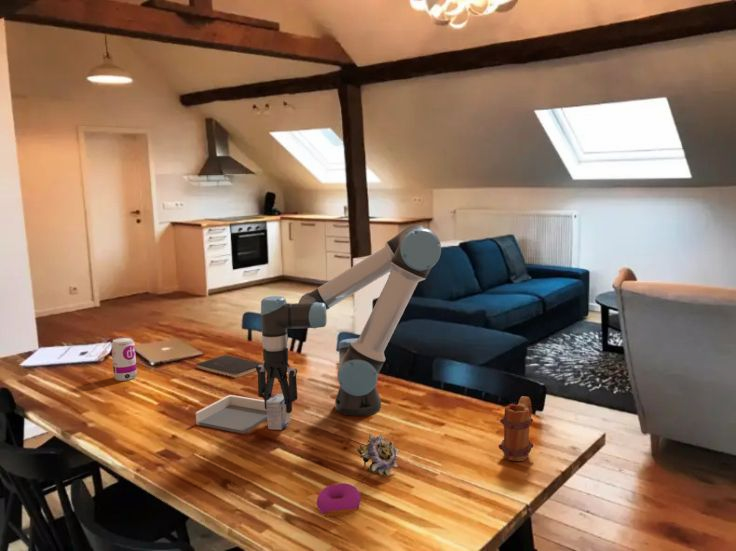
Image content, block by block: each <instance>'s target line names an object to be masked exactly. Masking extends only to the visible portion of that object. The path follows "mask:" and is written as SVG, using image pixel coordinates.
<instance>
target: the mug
mask: <svg viewBox="0 0 736 551" xmlns="http://www.w3.org/2000/svg"><path fill="white" fill-rule="evenodd" d="M532 411H533V410H532V402H531V399H530V397H529V396H525V395H524V396H523V395H521V397H520V398H519V400H518V404H514V403H510V404H508V405H506V406H505V407H504V415H503V416H502V418H501V419H499V423H501V424H502V425H503V439H502V441H501V443H500V444H499V445H498V449H499V450H501V451H502V453H503V456H504V458H505V459H507V460H509V461H512V460H514V461H513V462H523V461H525V459H526V460H527V459H528V458H529V454H530V453H531V451H532V448H534V443H532V442H531V441H530V426H531V424H532V423H533V422H534V419H533V418H532Z"/></svg>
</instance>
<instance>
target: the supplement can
mask: <svg viewBox="0 0 736 551" xmlns="http://www.w3.org/2000/svg"><path fill="white" fill-rule="evenodd" d="M135 346H136V345H135V341H134V340H133V338H131V337H120V338H115V339H113V340H112V343H111V345H110V347H111V357H112V368H113V377H114V379H115V380H116V381H117V382H118V381H119V382H125V381H131V380H133V378H134V379H135V378H136V377H137V375H138V372H137V371H138V370H137V360H136V348H135Z"/></svg>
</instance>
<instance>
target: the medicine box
mask: <svg viewBox="0 0 736 551" xmlns="http://www.w3.org/2000/svg"><path fill="white" fill-rule="evenodd" d="M270 398H271V399H270V400H269V401H268V402H267V419H268V421H267V429H268V430H272V431H273V430H275V431H276V430H277V431H282V430H283V429H284V427H285V426H286V425H287V424H284V419H283V403H284V402H285V400H284V397H283V393H276V394H274V396H272V397H270Z"/></svg>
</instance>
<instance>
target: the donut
mask: <svg viewBox="0 0 736 551" xmlns="http://www.w3.org/2000/svg"><path fill="white" fill-rule="evenodd" d="M361 499H362V497H361V493H360V491H359V490H358V488H356V486H354V485H352V484H350V483H347V482H346V483H342V482H341V483H335V484H330V485H328V486H325V487H324V488H322V490H321V491H320V492H319V494H318V496H317V498H316V506H317V509H318V510H319V511H320V513H321V514H323V515H325V516H327V515H328V517H344V515H345V516H348V515H350V514H352V513H353V512H354V511H356V510H359V507H360V504H361Z"/></svg>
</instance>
